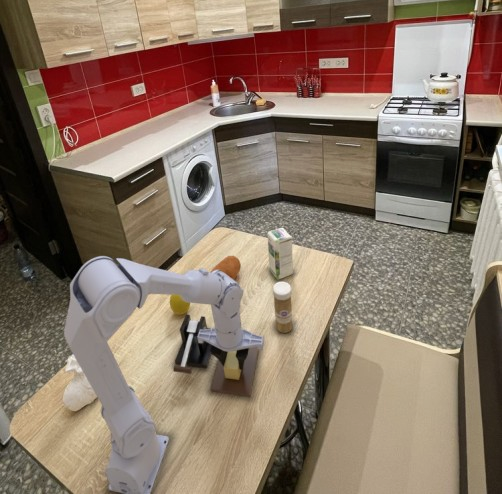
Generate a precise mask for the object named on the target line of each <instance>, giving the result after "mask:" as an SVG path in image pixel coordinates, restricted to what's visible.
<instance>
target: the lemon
mask: <svg viewBox="0 0 502 494" xmlns="http://www.w3.org/2000/svg"><path fill="white" fill-rule="evenodd" d="M169 307H170V309H171V311H172V313H174V314H175V315H178V316H179V315H184V314H185V313H187V312H188V311H189V309H190V307H191V303H189V302H185V301H183V300H182V298H181V297H180V295H170V297H169Z"/></svg>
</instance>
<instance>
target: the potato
mask: <svg viewBox="0 0 502 494" xmlns="http://www.w3.org/2000/svg"><path fill="white" fill-rule="evenodd" d="M241 267H242V264H241V260H240V259H239V258H238V257H236V256H235V255H228V256H226V257H225V258H223V259H222V260H221V261H219V262H218V263H217V264H216V265H215V266H214V267H213V268H212V269H211V271H209V273H211V272H213V271H215V270H220V271H222V272H224V273H225V274H226V275H228V276H229V277H230V278H232V279H233V280H234V281H235V280H236V278H237V276H238V274H239V273H240V271H241Z"/></svg>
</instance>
